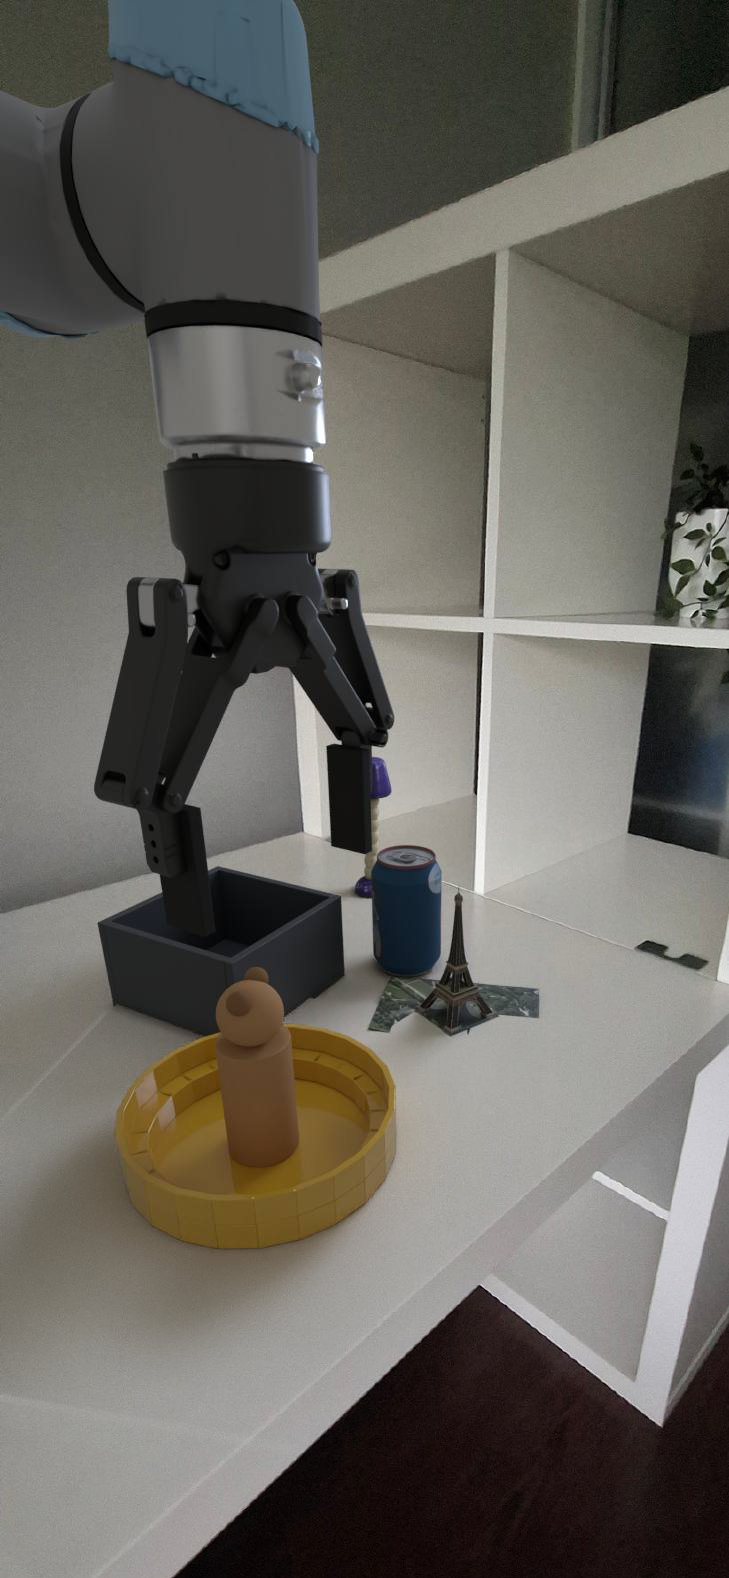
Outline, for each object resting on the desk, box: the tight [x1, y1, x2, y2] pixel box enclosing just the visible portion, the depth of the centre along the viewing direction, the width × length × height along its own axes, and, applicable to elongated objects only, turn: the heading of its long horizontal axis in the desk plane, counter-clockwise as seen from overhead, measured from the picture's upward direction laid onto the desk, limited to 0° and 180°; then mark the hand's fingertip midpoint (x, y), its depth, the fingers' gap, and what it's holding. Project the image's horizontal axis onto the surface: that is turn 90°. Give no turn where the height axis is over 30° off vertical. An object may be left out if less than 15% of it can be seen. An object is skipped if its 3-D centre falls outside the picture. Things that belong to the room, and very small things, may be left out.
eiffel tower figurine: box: [368, 887, 541, 1038], centre depth 71 cm, size 15×10×13 cm
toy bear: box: [215, 967, 299, 1167], centre depth 55 cm, size 5×5×14 cm
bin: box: [96, 865, 346, 1037], centre depth 76 cm, size 16×16×9 cm
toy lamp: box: [354, 756, 393, 898], centre depth 96 cm, size 5×5×17 cm
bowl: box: [114, 1023, 397, 1250], centre depth 57 cm, size 19×19×4 cm
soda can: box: [371, 844, 443, 978], centre depth 80 cm, size 7×7×12 cm
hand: (280, 884), depth 46 cm, fingers open, 13 cm apart
